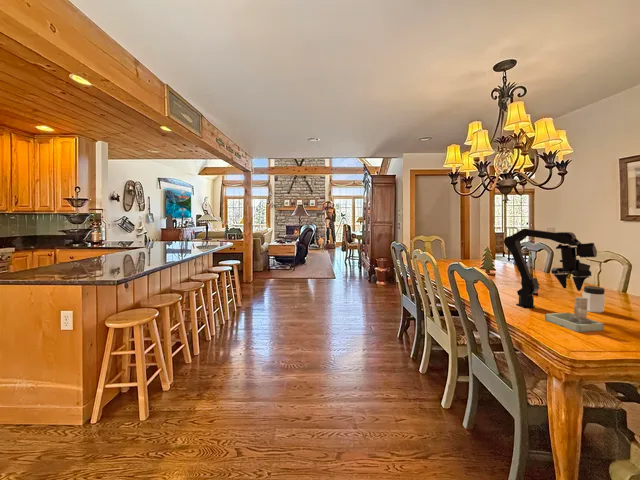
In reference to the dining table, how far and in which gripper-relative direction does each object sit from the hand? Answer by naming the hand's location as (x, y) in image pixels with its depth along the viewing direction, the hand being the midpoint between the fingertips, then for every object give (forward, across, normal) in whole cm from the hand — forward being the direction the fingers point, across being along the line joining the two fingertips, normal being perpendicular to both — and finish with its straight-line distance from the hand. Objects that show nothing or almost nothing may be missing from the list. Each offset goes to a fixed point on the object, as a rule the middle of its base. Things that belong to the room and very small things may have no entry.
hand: (571, 289), depth 155 cm
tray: (+13, -13, +11) cm, 22 cm away
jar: (+14, +10, -17) cm, 24 cm away
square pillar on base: (+13, -16, +10) cm, 23 cm away
